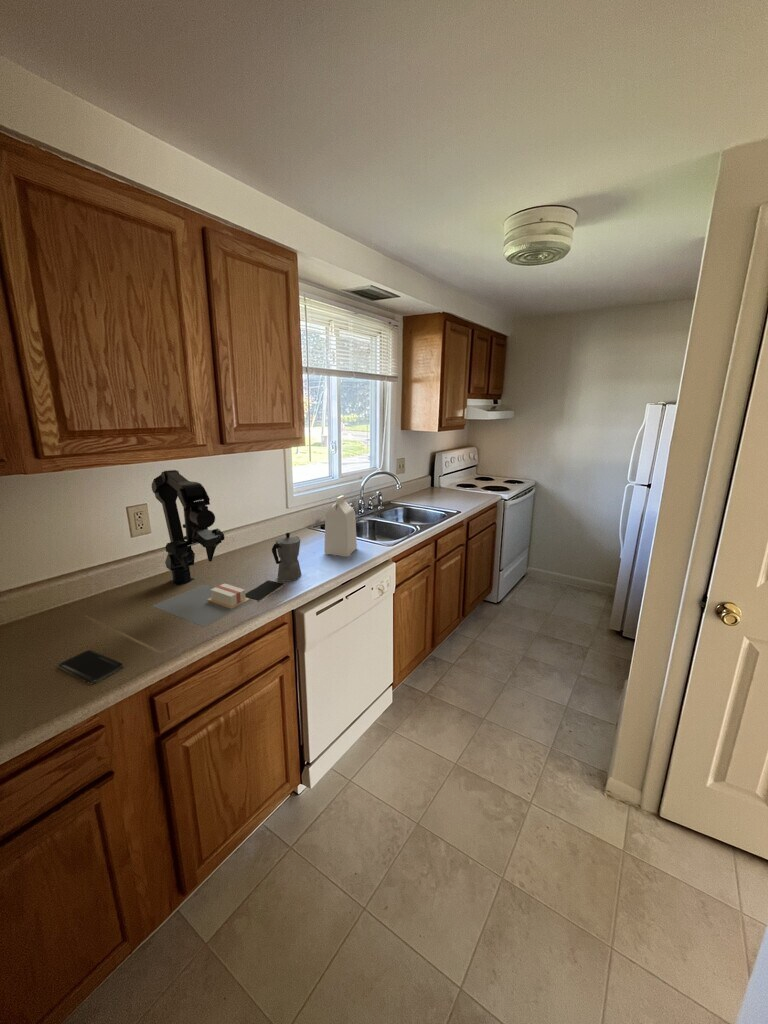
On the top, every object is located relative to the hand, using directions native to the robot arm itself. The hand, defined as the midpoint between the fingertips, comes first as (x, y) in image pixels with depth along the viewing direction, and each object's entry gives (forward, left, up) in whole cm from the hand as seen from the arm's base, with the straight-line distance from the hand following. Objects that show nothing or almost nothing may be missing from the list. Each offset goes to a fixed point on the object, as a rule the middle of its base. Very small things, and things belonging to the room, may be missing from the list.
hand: (198, 565), depth 140 cm
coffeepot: (+13, +29, -12) cm, 34 cm away
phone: (+10, -40, -13) cm, 43 cm away
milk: (+13, +65, -12) cm, 67 cm away
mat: (+5, -3, -12) cm, 13 cm away
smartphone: (+14, +15, -13) cm, 24 cm away
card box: (+10, +3, -11) cm, 15 cm away
